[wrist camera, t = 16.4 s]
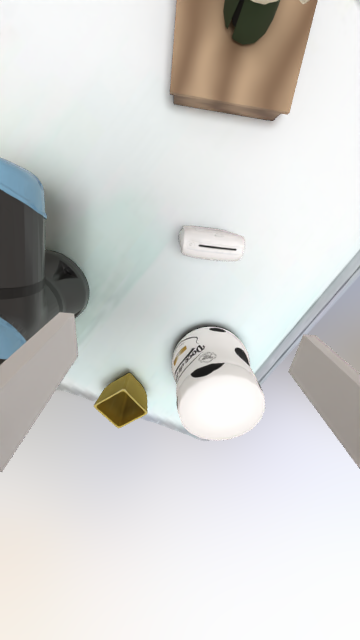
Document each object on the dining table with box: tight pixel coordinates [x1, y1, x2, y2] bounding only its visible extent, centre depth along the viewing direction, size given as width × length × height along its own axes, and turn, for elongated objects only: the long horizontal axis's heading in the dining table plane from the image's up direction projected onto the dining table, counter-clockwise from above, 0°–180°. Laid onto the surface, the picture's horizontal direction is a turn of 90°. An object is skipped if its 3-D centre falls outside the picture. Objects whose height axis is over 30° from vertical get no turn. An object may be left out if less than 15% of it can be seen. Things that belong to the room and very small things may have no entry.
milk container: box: [172, 327, 265, 440], centre depth 47 cm, size 17×17×18 cm
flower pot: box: [94, 373, 147, 428], centre depth 54 cm, size 9×9×9 cm
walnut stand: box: [170, 0, 317, 121], centre depth 30 cm, size 17×17×5 cm
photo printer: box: [179, 226, 245, 261], centre depth 38 cm, size 10×4×12 cm, turn 83°
